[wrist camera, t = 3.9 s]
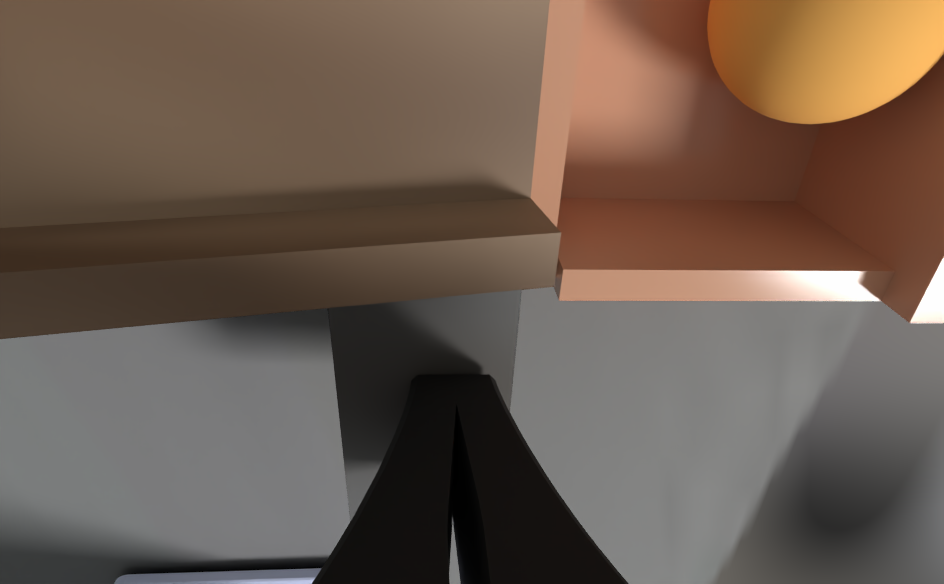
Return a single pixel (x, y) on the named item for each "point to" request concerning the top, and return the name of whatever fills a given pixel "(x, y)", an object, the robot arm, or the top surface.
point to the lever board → (280, 180)
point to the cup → (726, 175)
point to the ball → (823, 53)
